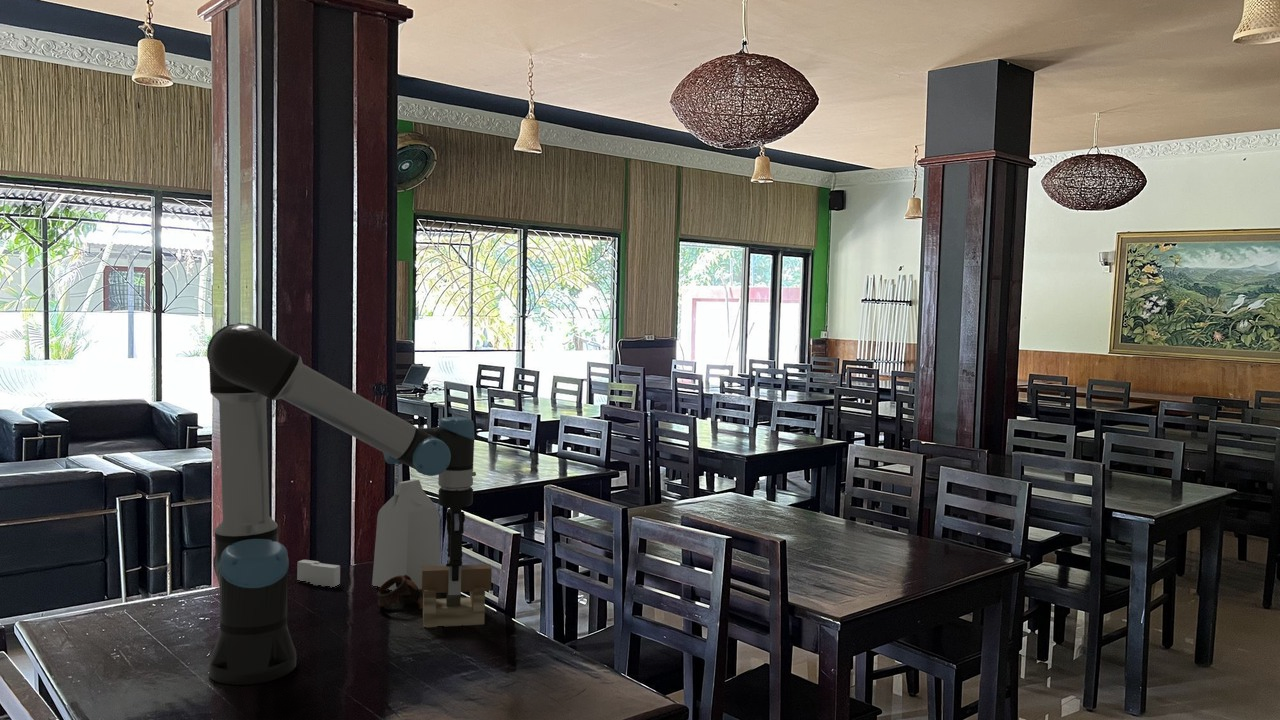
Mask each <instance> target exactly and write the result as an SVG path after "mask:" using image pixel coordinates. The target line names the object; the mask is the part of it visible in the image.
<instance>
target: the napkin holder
mask: <svg viewBox="0 0 1280 720" xmlns="http://www.w3.org/2000/svg"><path fill="white" fill-rule="evenodd" d="M296 565H297V566H296V567H297V572H296V575H297V577H296V581H297V580H300V581H306V582H305V583H308V582H310V583H309V585H310V584H313V585H312V586H318V585H321V586H320V587H325V586H330V587H329V588H332V587H335V586H337V585H339V584H340V585H341V565H339V564H332V563H331V564H329V563H323V562H320V561H318V560H310V559H302V560H299V561H297V564H296ZM300 581H299V582H300ZM340 585H339V586H340ZM337 587H338V586H337ZM335 588H336V587H335Z"/></svg>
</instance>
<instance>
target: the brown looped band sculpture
mask: <svg viewBox="0 0 1280 720" xmlns="http://www.w3.org/2000/svg"><path fill="white" fill-rule="evenodd" d="M394 583H396V587H397V588H396V589H395V590H393V591H390V592H388V593H385V591H388V590H387V589H388V588H389V587H390V586H392V585H394ZM376 596H377V597H378V598H377V599H378V600H377V605H378V607H379V608H380V607H382V608H383V606H384V607H385V606H387V605H392V604H393V603H394V604H395V603H396V604H400V596H401V598H402V599H408V600H409V599H410V598H412V601H413V603H414V602H417V603H416V604H418V608H419V609H420V608H422V609H423V595H422V593H421V590H419V589H418V587H417V586H416V584H415V583H414V582H412V581H411V578H410V577H409V576H407V575H404V576H402V575H400V576H395V577H393V578H391V579H389V580H388V581H386V582H385V583H384V584H383V585H382V586H381V587H380V588H378V591H377V592H376Z"/></svg>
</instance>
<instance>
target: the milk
mask: <svg viewBox="0 0 1280 720" xmlns="http://www.w3.org/2000/svg"><path fill="white" fill-rule="evenodd" d="M394 492H395V493H394V495H393V496H391V497H390V499H388V500H387V501H386V502H385V504H383V505H382V506H381V508H380V509H379V510H378V513H377V516H376V517H377V518H376V532H375V543H374V545H375V546H374V556H373V557H374V559H373V568H372V581H371V586H372V585H373V586H378V587H381V586H382V585H383V584H384V583H385V582H386V581H388V580H389V579H391V578H393V577H395V576H400V575H402V576H404V575H407V576H409V577H410V578H411V581H412V582H414V583H415V584H416V586H417V587H418V589H422V566H441V542H440V541H441V539H440V536H441V535H440V513H439V509H438V507H437V506H436V504H435V503H434V502H433V501H432V499H431V498H430V497H429V495H427V493H426V492H425V491H424V489H423V487H422V483H421V481H420V479H409V480H405V481H400V482H397V484H396V489H395V491H394ZM373 586H372V587H373ZM396 588H397V587H396V583H394V585H392V586H390V587H389V588H388V589H389V590H392V591H393V590H395V589H396Z"/></svg>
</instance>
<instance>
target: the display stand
mask: <svg viewBox="0 0 1280 720" xmlns="http://www.w3.org/2000/svg"><path fill="white" fill-rule="evenodd" d="M461 595H462V594H461ZM461 595H448V592H447V593H446V598H437V593H436V590H424V593H423V594H422V602H423V607H422V624H423V625H422V626H423V628H424V627H426V628H438V627H437V626H444V627H458V626H459V627H460V626H462V625H463V626H475V625H476V626H479V625H481V626H482V625H485V615H486V614H485V612H486V610H485V608H486V606H485V605H486V591H485V587H483V588H473V591H470V592H469V597H468V596H467V597H462V596H461ZM463 626H462V627H463Z"/></svg>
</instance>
